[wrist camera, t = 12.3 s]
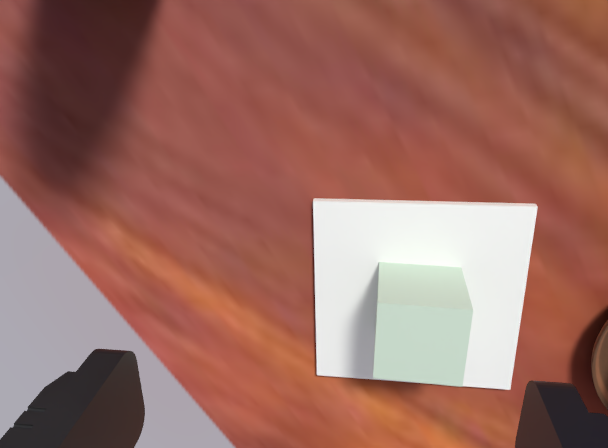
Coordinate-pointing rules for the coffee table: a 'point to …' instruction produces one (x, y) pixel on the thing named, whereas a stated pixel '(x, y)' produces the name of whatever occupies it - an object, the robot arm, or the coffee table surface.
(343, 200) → the mat
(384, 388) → the coffee table surface
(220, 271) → the coffee table surface
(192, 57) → the coffee table surface
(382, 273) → the sage cube
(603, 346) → the cup and saucer
